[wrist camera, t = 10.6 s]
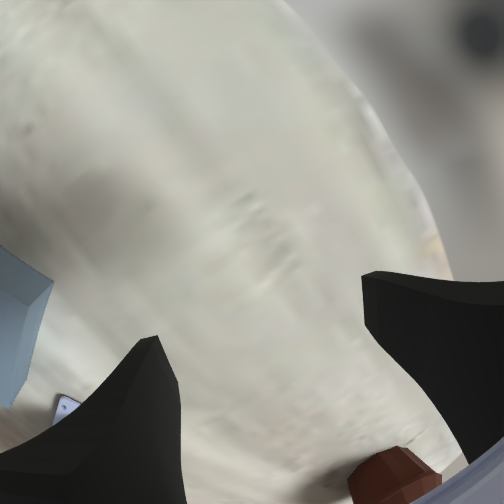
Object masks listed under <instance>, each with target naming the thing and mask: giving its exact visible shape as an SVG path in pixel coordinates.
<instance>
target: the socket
mask: <svg viewBox="0 0 504 504" xmlns="http://www.w3.org/2000/svg"><path fill="white" fill-rule="evenodd" d="M53 283H54V281H52V280H50V279H49V278H47V277H46V276H44V275H42V274H41V273H39V272H38V271H36V270H35V269H33V268H32V267H30V266H28V265H27V264H25V263H24V262H22V261H21V260H19V259H18V258H16V257H15V256H14V255H12V254H11V253H9V252H8V251H6V250H5V249H3V248H2V247H1V246H0V405H1V406H3V407H4V408H6V409H8V410H9V409H10V407H11V405H12V404H13V402H14V400H15V398H16V396H17V395H18V393H19V391H20V390H21V388H22V386H23V384H24V383H25V381H26V379H27V375H28V371H29V366H30V362H31V358H32V353H33V349H34V346H35V342H36V338H37V334H38V331H39V327H40V324H41V320H42V317H43V314H44V311H45V307H46V304H47V301H48V298H49V295H50V292H51V289H52V286H53Z"/></svg>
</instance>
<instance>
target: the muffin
mask: <svg viewBox="0 0 504 504" xmlns="http://www.w3.org/2000/svg"><path fill="white" fill-rule="evenodd" d="M347 481H348V484H349V490H350V494H351V497H352V500H353V503H354V504H410V503H412V502H413V501H415V500H417V499H419V498H420V497H422V496H424V495H425V494H427V493H429V492H430V491H432V490H433V489H435V488H437V487H438V486H440V485H441V484H442V475H441V474H438V473H436V472H435V471H434V470H432V469H431V468H430V467H429V466H428V465H427V464H425V463H424V462H423V461H422V460H421V459H420V458H418V457H417V456H416V455H415V454H414V453H413V452H411V451H410V450H409V449H408V448H401V447H399V446H395V447H393V448H391V449H388V450H385V451H382V452H379V453H377V454H376V455H374V456H373V457H372V458H370V459H369V460H367V461H366V462H364V463H362V464H361V465H359V466H358V467H357V469H356V470H355V471H354V473H353V474H352V475H351V476H350V477H349V478H348V479H347Z"/></svg>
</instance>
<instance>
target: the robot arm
mask: <svg viewBox="0 0 504 504" xmlns="http://www.w3.org/2000/svg"><path fill="white" fill-rule="evenodd" d="M361 279H362V291H363V305H364V322H365V326H366V327H367V329H368V330H369V332H370V333H371V335H372V336H373V337H374V339H375V340H376V341H377V342H378V344H379V345H380V346H381V347H382V348H383V349H384V350H385V351H386V352H387V353H388V354H389V355H390V356H391V357H392V358H393V359H394V360H395V361H396V362H397V363H398V364H399V365H400V366H401V367H402V368H403V369H404V370H405V371H406V372H407V373H408V374H409V375H410V376H411V377H412V378H413V379H414V380H415V381H416V382H417V383H418V385H419V386H420V387H421V388H422V389H423V391H424V392H425V393H426V395H427V396H428V397H429V399H430V400H431V401H432V403H433V404H434V405H435V407H436V408H437V410H438V411H439V413H440V414H441V416H442V417H443V419H444V420H445V422H446V423H447V425H448V427H449V428H450V430H451V432H452V433H453V435H454V437H455V438H456V440H457V442H458V444H459V446H460V448H461V449H462V451H463V453H464V455H465V457H466V459H467V462H468V464H469V466H467V467H466V468H465V469H463V470H462V471H460V472H459V473H457V474H456V475H455V476H453V477H452V478H450V479H449V480H448V481H446V482H444V483H443V484H441V485H440V486H438V487H437V488H435V489H433V490H432V491H430V492H429V493H427V494H425V495H424V496H422V497H420V498H419V499H417V500H415V501H413V502H412V503H410V504H504V281H498V282H459V281H448V280H439V279H432V278H425V277H419V276H413V275H407V274H401V273H394V272H386V271H374V272H371V273H368V274H365V275H363V276H361ZM64 405H65V406H64ZM0 504H187V501H186V496H185V490H184V484H183V478H182V471H181V403H180V394H179V387H178V381H177V379H176V377H175V375H174V372H173V370H172V368H171V366H170V363H169V361H168V359H167V356H166V354H165V352H164V349H163V347H162V345H161V342H160V340H159V337H158V335H156V336H152V337H148V338H144V339H140V340H139V341H138V342H137V343H136V344H135V346H134V347H133V348H132V349H131V350H130V351H129V353H128V354H127V355H126V356H125V358H124V359H123V360H122V361H121V362H120V364H119V365H118V366H117V367H116V368H115V370H114V371H113V372H112V373H111V374H110V375H109V376H108V377H107V378H106V380H105V381H104V382H103V383H102V384H101V385H100V386H99V387H98V388H97V389H96V390H95V391H94V392H93V393H92V394H91V395H90V396H89V397H88V398H87V399H86V400H85V401H84V402H83V403H82V404H80V403H78V402H76V401H74V400H72V399H70V398H68V397H66V396H62V397H61V398H60V400H59V403H58V407H57V410H56V413H55V417H54V420H53V424H52V427H51V428H49V429H48V430H46V431H44V432H43V433H41V434H39V435H38V436H36V437H34V438H32V439H31V440H29V441H27V442H25V443H23V444H21V445H19V446H17V447H14V448H12V449H10V450H7V451H5V452H3V453H0Z"/></svg>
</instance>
